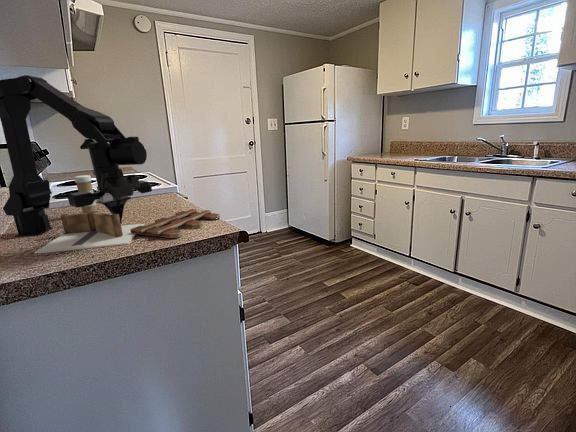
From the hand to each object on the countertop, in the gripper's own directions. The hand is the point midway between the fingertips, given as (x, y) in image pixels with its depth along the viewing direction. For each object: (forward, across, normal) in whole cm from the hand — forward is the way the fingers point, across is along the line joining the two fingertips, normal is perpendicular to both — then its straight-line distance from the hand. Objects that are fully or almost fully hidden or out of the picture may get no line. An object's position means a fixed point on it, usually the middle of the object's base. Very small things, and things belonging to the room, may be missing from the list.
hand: (119, 223), depth 83 cm
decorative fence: (+3, +13, -7) cm, 15 cm away
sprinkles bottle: (+3, +3, +32) cm, 32 cm away
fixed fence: (+2, -6, +10) cm, 12 cm away
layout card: (+2, -6, +2) cm, 7 cm away
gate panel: (+2, -3, +1) cm, 3 cm away
